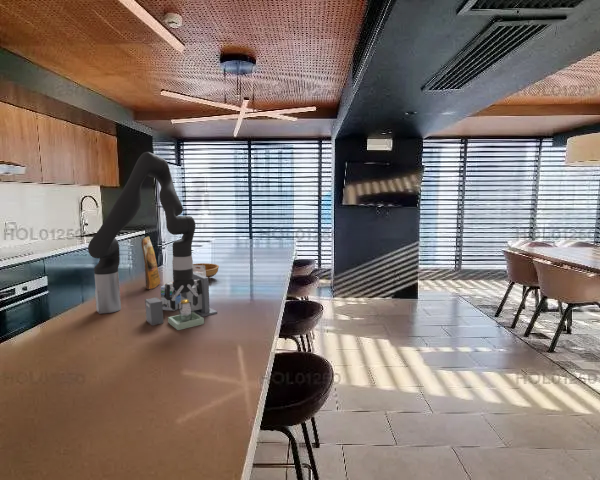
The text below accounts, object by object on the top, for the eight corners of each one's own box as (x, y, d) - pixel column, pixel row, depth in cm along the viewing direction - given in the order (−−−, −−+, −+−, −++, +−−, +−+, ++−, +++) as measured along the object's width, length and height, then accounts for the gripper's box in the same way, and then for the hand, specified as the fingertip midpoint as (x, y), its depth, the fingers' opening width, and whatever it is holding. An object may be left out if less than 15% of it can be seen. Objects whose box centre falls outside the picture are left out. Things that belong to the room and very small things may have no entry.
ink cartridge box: (187, 294, 181) (186, 266, 179) (191, 292, 186) (190, 264, 184) (203, 295, 180) (202, 267, 179) (207, 292, 185) (205, 265, 183)
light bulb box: (174, 311, 156) (173, 287, 155) (161, 310, 157) (159, 286, 156) (187, 303, 166) (186, 281, 165) (174, 303, 168) (172, 280, 166)
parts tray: (177, 330, 134) (177, 324, 133) (168, 322, 142) (167, 317, 141) (204, 323, 140) (203, 318, 140) (193, 316, 148) (193, 311, 148)
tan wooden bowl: (180, 275, 225) (180, 263, 224) (219, 273, 230) (219, 261, 229) (174, 287, 196) (173, 273, 195) (219, 284, 201) (218, 271, 200)
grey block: (151, 325, 139) (150, 303, 138) (146, 320, 144) (144, 299, 143) (163, 322, 142) (162, 301, 141) (157, 318, 147) (156, 297, 146)
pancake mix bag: (139, 290, 190) (136, 239, 186) (151, 282, 209) (148, 234, 205) (152, 290, 191) (149, 238, 187) (163, 281, 209) (160, 234, 206)
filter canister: (182, 324, 138) (181, 303, 137) (178, 321, 141) (177, 300, 140) (193, 322, 141) (192, 300, 139) (189, 319, 144) (188, 298, 143)
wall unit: (191, 319, 145) (189, 281, 143) (177, 309, 158) (175, 274, 156) (217, 313, 153) (215, 277, 151) (201, 304, 165) (200, 270, 163)
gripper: (196, 263, 145) (197, 301, 147) (161, 267, 136) (162, 308, 138) (204, 266, 139) (205, 306, 141) (167, 271, 130) (169, 313, 133)
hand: (184, 307), depth 140 cm, fingers open, 8 cm apart
